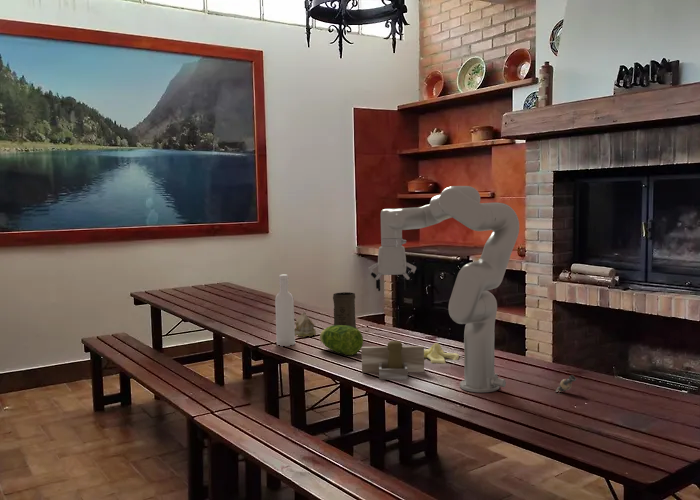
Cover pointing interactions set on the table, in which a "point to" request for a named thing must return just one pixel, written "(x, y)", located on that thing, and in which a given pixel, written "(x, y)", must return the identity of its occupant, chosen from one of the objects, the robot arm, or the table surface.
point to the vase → (566, 384)
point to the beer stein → (344, 309)
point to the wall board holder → (378, 361)
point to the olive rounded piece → (395, 355)
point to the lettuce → (342, 339)
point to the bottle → (284, 314)
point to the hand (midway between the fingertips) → (392, 290)
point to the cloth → (438, 354)
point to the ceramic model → (304, 326)
